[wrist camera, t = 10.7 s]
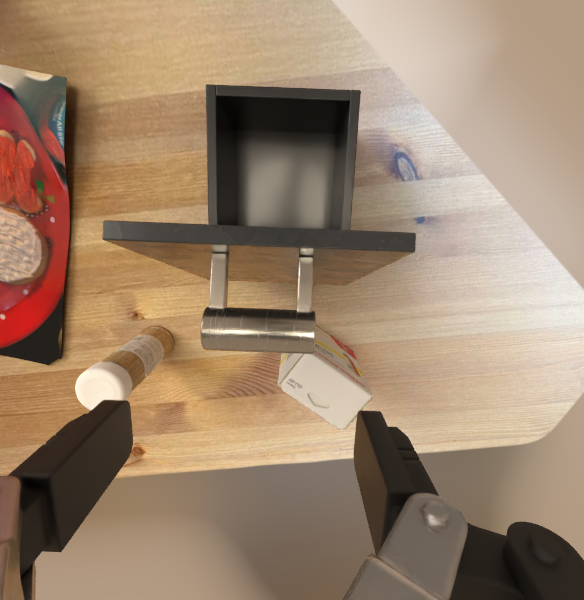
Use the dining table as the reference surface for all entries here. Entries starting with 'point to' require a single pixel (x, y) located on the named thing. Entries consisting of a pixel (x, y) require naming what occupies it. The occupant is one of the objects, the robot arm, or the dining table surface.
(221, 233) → the bin lid
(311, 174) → the bin
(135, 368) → the sprinkles bottle
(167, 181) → the dining table surface
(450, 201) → the dining table surface
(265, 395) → the dining table surface
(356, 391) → the ink box
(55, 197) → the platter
